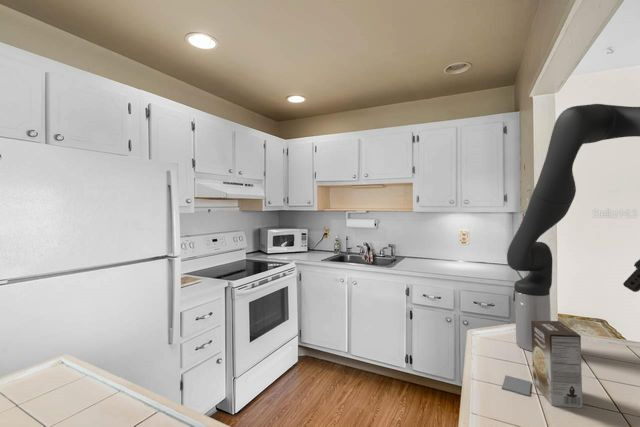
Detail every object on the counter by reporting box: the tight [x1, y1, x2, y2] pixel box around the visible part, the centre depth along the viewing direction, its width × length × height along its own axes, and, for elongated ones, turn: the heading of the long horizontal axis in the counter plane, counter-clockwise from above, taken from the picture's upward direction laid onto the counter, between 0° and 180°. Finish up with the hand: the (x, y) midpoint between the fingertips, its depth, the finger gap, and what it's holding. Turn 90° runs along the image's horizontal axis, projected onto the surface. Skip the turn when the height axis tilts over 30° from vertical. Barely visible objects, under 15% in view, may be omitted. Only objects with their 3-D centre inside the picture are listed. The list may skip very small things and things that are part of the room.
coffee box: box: [531, 320, 583, 409], centre depth 71 cm, size 9×6×16 cm
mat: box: [501, 374, 532, 397], centre depth 75 cm, size 7×6×1 cm
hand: (638, 287), depth 58 cm, fingers open, 8 cm apart
